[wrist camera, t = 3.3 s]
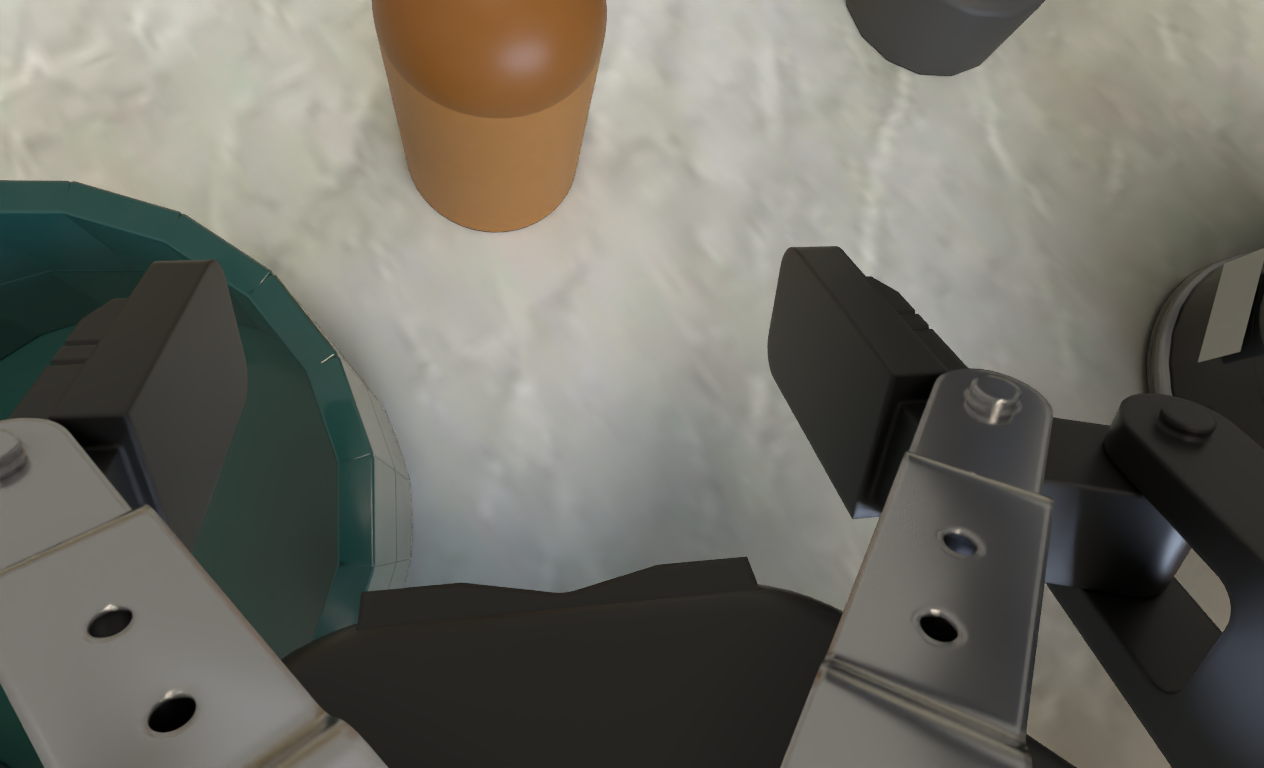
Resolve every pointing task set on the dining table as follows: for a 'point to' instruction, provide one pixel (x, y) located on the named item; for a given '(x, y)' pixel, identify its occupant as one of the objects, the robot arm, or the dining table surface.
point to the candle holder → (939, 30)
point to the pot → (266, 432)
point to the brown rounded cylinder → (491, 100)
